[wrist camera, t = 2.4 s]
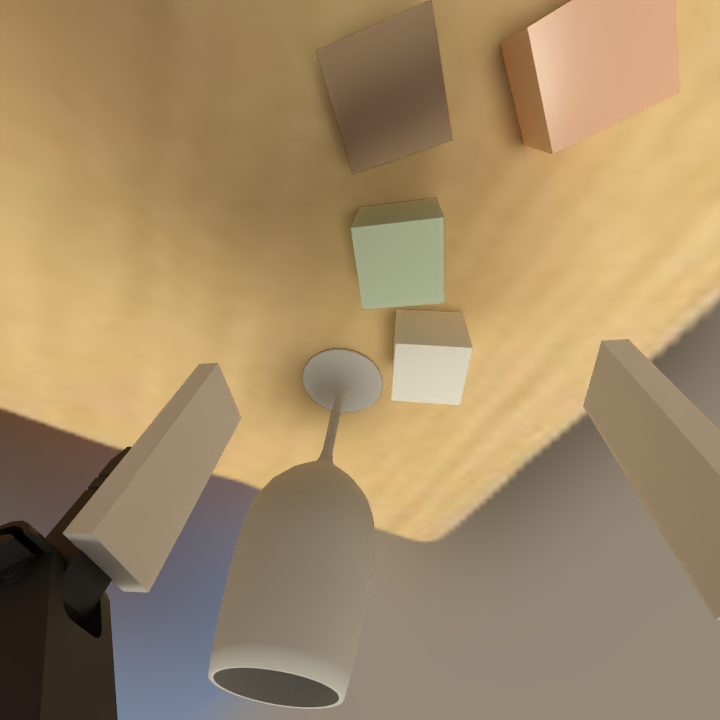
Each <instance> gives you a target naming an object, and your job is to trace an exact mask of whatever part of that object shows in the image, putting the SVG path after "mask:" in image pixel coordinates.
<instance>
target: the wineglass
mask: <svg viewBox="0 0 720 720" xmlns="http://www.w3.org/2000/svg"><path fill="white" fill-rule="evenodd" d="M303 384H304V388H305V390H306V391H307V393H308V395H309V396H310V397H311V398H312V399H313V400H314V401H315V402H316V403H318V404H319V405H321V406H322V407H325V408H327V409H329V410H332V412H331V416H330V420H329V425H328V429H327V434H326V438H325V442H324V447H323V450H322V453H321V455H320V457H319V459H318V460H317V461H313V462H308V463H304V464H300V465H297V466H294V467H292V468H290V469H288V470H287V471H285V472H283V473H281V474H279V475H277V476H276V477H274V478H273V479H272V480H271V481H270V482H269V483H268V484H267V485H266V486H265V487H264V488H263V489H262V491H261V492H260V493H259V494H258V495H257V496H256V497H255V500H254V501H253V503H252V505H251V507H250V509H249V511H248V513H247V516H246V518H245V521H244V523H243V526H242V529H241V531H240V534H239V537H238V541H237V544H236V548H235V552H234V555H233V559H232V563H231V567H230V570H229V574H228V578H227V583H226V587H225V591H224V595H223V599H222V604H221V608H220V613H219V618H218V622H217V628H216V632H215V638H214V643H213V648H212V654H211V660H210V667H209V673H208V677H209V679H210V681H211V682H212V683H214V684H215V685H216V686H217V687H219V688H221V689H223V690H224V691H227V692H229V693H232V694H234V695H237V696H240V697H243V698H246V699H250V700H253V701H258V702H261V703H266V704H271V705H277V706H283V707H291V708H305V709H320V708H329V707H333V706H337V705H339V704H340V703H342V702H343V700H344V697H345V694H346V690H347V687H348V683H349V680H350V676H351V672H352V668H353V664H354V660H355V655H356V651H357V647H358V642H359V638H360V633H361V629H362V624H363V619H364V614H365V608H366V603H367V598H368V591H369V586H370V580H371V574H372V568H373V561H374V548H375V547H374V546H375V533H374V521H373V515H372V512H371V509H370V506H369V503H368V500H367V498H366V497H365V495H364V493H363V492H362V490H361V489H360V488H359V486H358V485H357V484H356V483H355V481H354V480H353V479H352V478H351V477H350V476H349V475H348V474H346V473H345V472H344V471H342V470H341V469H340V468H338V467H337V466H335V465H334V463H333V447H334V442H335V437H336V432H337V427H338V422H339V417H340V412H345V413H349V412H357V411H360V410H363V409H366V408H367V407H369V406H371V405H372V404H373V403H374V402H375V401H376V400H377V399H378V397H379V395H380V394H381V390H382V376H381V374H380V371H379V369H378V368H377V366H376V365H375V364H374V363H373V361H371V360H370V359H369V358H368V357H366V356H365V355H363V354H361V353H359V352H357V351H353V350H349V349H340V348H335V349H329V350H325V351H322V352H320V353H318V354H316V355H315V356H313V357H312V358H311V359H310V360H309V362H308V363H307V364H306V366H305V369H304V372H303Z"/></svg>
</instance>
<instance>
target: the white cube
mask: <svg viewBox="0 0 720 720" xmlns="http://www.w3.org/2000/svg"><path fill="white" fill-rule="evenodd" d="M471 353H472V344H471V341H470V337H469V334H468V330H467V327H466V323H465V320H464V316H463V313H462V312H444V311H424V310H403V309H397V310H396V323H395V337H394V351H393V369H392V395H391V400H395V401H409V402H424V403H439V404H453V405H460V402H461V397H462V393H463V389H464V384H465V380H466V375H467V371H468V366H469V362H470V357H471Z"/></svg>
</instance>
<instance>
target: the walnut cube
mask: <svg viewBox="0 0 720 720" xmlns="http://www.w3.org/2000/svg"><path fill="white" fill-rule="evenodd" d="M316 53H317V56H318V60H319V63H320V67H321V70H322V73H323V77H324V80H325V84H326V87H327V90H328V94H329V97H330V101H331V104H332V107H333V111H334V114H335V118H336V121H337V124H338V128H339V131H340V135H341V138H342V141H343V145H344V148H345V152H346V155H347V158H348V162H349V165H350V168H351V172H352V174H355V173H358V172H361V171H364V170H367V169H369V168H372V167H375V166H378V165H381V164H384V163H387V162H390V161H393V160H396V159H399V158H401V157H404V156H407V155H410V154H413V153H416V152H419V151H422V150H425V149H428V148H431V147H433V146H436V145H439V144H442V143H445V142H448V141H451V140H452V134H451V127H450V120H449V113H448V107H447V100H446V93H445V87H444V80H443V73H442V66H441V60H440V53H439V46H438V39H437V33H436V26H435V19H434V12H433V6H432V0H429V1H426V2H424V3H422V4H420V5H418V6H415V7H413V8H411V9H409V10H406V11H404V12H402V13H400V14H397V15H395V16H393V17H391V18H388V19H386V20H384V21H382V22H379V23H377V24H375V25H373V26H370V27H368V28H366V29H364V30H362V31H359V32H357V33H355V34H353V35H350V36H348V37H346V38H344V39H341V40H339V41H337V42H335V43H332V44H330V45H328V46H326V47H323V48H321V49H319V50H317V51H316Z"/></svg>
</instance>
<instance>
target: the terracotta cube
mask: <svg viewBox="0 0 720 720" xmlns="http://www.w3.org/2000/svg"><path fill="white" fill-rule="evenodd" d="M500 45H501V49H502V54H503V58H504V62H505V66H506V71H507V75H508V79H509V83H510V88H511V92H512V96H513V100H514V104H515V109H516V113H517V117H518V121H519V126H520V130H521V134H522V138H523V143H524V145H526V146H529V147H532V148H535V149H538V150H541V151H544V152H547V153H550V154H555V153H557V152H559V151H561V150H563V149H565V148H567V147H569V146H571V145H573V144H575V143H577V142H579V141H581V140H583V139H585V138H587V137H589V136H591V135H593V134H595V133H597V132H599V131H601V130H603V129H606V128H608V127H610V126H612V125H614V124H616V123H618V122H620V121H622V120H624V119H626V118H628V117H630V116H632V115H634V114H636V113H638V112H640V111H642V110H644V109H646V108H648V107H650V106H652V105H654V104H656V103H658V102H660V101H662V100H664V99H666V98H669V97H671V96H673V95H675V94H677V93H679V81H678V52H677V24H676V0H571V1H569V2H568V3H566V4H564V5H563V6H561V7H560V8H558V9H556V10H555V11H553V12H552V13H550V14H548V15H547V16H545V17H543V18H542V19H540V20H539V21H537V22H535V23H534V24H532V25H530V26H529V27H527V28H526V29H524V30H522V31H521V32H519V33H518V34H516V35H514V36H513V37H511V38H509V39H508V40H506V41H505V42H503V43H501V44H500Z"/></svg>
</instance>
